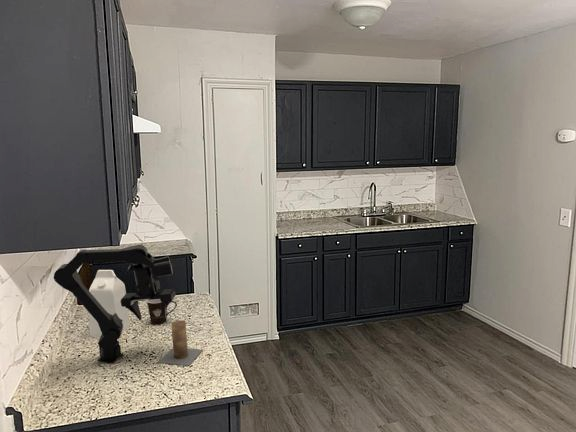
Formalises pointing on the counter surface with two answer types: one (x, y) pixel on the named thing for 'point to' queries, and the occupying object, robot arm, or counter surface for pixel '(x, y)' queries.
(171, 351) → the mat
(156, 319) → the coffee mug
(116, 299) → the milk
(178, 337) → the pepper mill
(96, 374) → the counter surface
